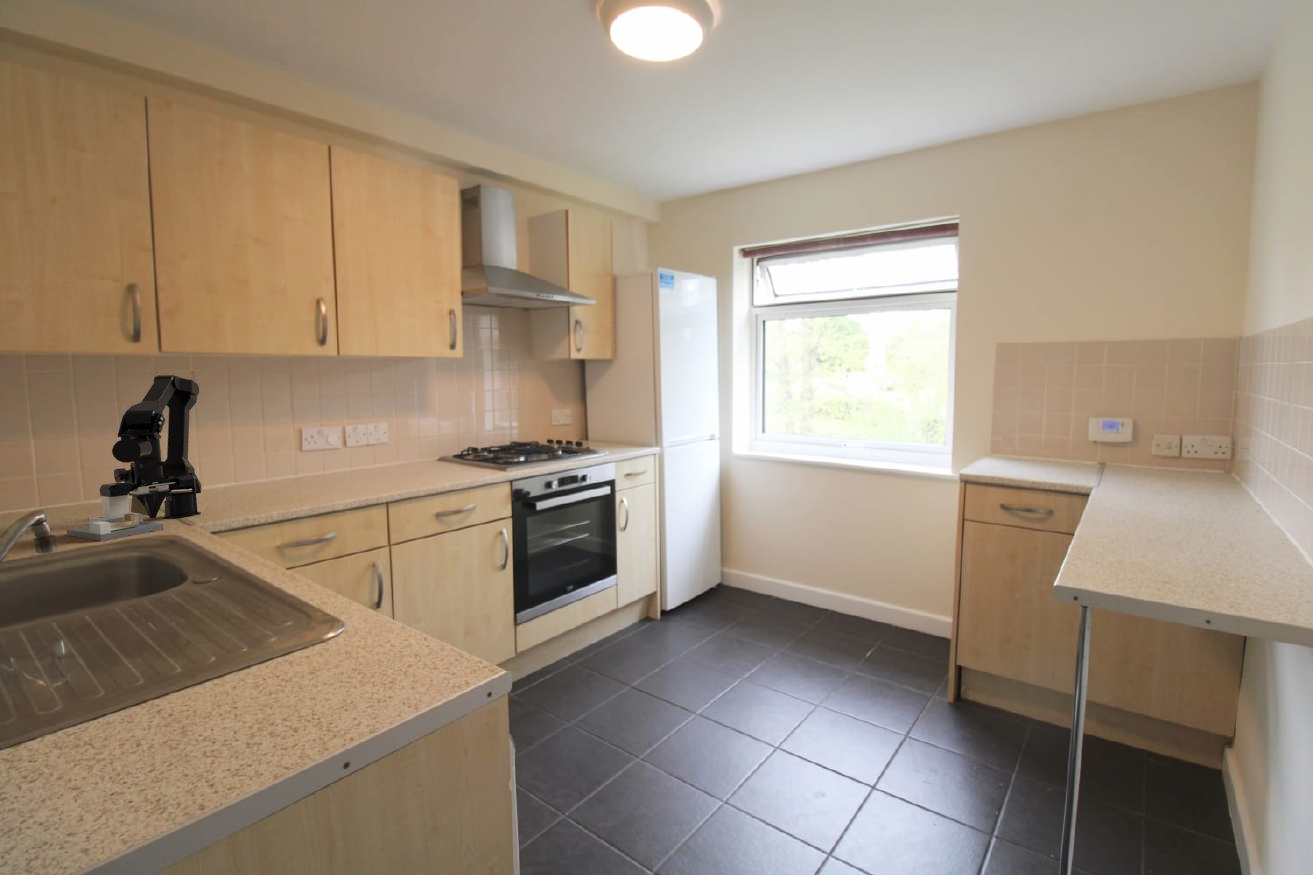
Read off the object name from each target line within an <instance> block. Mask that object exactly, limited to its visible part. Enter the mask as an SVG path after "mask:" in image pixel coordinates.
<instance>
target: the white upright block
mask: <svg viewBox="0 0 1313 875" xmlns="http://www.w3.org/2000/svg"><path fill="white" fill-rule="evenodd" d="M100 500H101V501H100V502H101V512H102V516H103V518H104V519H111V518H118V517H124V514H129V512H130V505H129V494H128V495H124V496H117V497H106V496H100Z"/></svg>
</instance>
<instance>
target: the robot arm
mask: <svg viewBox="0 0 1313 875" xmlns="http://www.w3.org/2000/svg"><path fill="white" fill-rule="evenodd" d="M199 393H200V386H199V384H198V383H197V382H196V381H194V380H193V379H188V378H183V377H180V376H178V375H175V374H173V375H171V374H170V375H167V374H166V375H162V374H161V375H155V376H154V378H153V383H152V384H151V387H150V388H149V390H148V391H147V393H146V394H145V395H144V397H143V399H142V400H141V401H140V402H138V403H136V404H133V405H131V406H130V407H129V408H128V409H127V410H126V411H125V412H124V414H123V415H122V417H121V421H120V425H119V428H118V433H117V438H120V440H117V441H116V442H115V443H114V444H113V446H112V449H111V454H112V456H113V458H115V460H116V461H119V462H121V463H126V464H127V463H130V465H129V467H130V469H126V468H125V467H122V468H121V467H120V468H115V469H113V478H114V481H115V482H113V483H112V482H111V483H104V484H102V485H101V486H100V487H99V496H100V497H101V496H106V497H117V496H124V495H128V496H129V497H130V496H131V497H132V496H135V497H136V498H137V499H138V500H139V501H140V502H141V504H142V505H143V507H144V509H145V510H146V512H147V514H148V515H147V516H148V518H149V519H152V520H154V519H156V518H157V515H158V513H159V510H160V509H161V507H162V505H163V502H164V505H163V506H164V514H163V516H164V517H167V518H174V519H177V518H183V517H190V516H191V517H192V516H196V515H201V514H202V512H201V511H198V502H197V500H198V499H197V494H201V493H202V482H201V481H200V480H199V478H198V476H197V474H196V473H195V467H194V466H193V464H192V463H191V461H190V460H189V433H190V432H189V431H190V411H191V410H192V409H193V408H194V406H195V404H196V403H197V401H198V395H199ZM166 407H167V408H168V421H167V422H168V426H167V449H166V450H167V452H166V459H165V460H164V461H163V459H162V449H161V441H160V440H161V439H162V435H161V434H160V433H161V432H162V430H163V428H164V425H165V423H166V417H165V416H164V413H163V412H164V410H165V408H166ZM149 489H151V490H149Z"/></svg>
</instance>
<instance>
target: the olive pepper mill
mask: <svg viewBox="0 0 1313 875" xmlns="http://www.w3.org/2000/svg"><path fill="white" fill-rule="evenodd" d="M149 490H151V489H149ZM130 513H138V514H142V515H146V516H148V514H147V512H146V510H145V509H144V507H143V505H142V504H141V502H140V501H139V500H138V499H137V498H136V497H135V496H131V508H130Z"/></svg>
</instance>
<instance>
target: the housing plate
mask: <svg viewBox="0 0 1313 875" xmlns="http://www.w3.org/2000/svg"><path fill="white" fill-rule="evenodd" d="M130 513H131V511H129V514H130ZM134 514H138V513H134ZM138 519H139V526H135V527H129V528H124V529H118V530H112V531H111V528H110V523H111V522H117V521H123V520H125V518H124V517H118V518H111V519H104V518H103V515H99V516H98V515H97V516H92V517H88V525H82V526H76V527H72V528H66V530H65V531H66V532H65V533H66V536H68V537H69V536H70V537H77V538H81V539H87V540H94V541H99V542H104V541H109V540H115V539H120V538H119V537H121V538H124V537H123V536H126V537H128V536H127V535H131V536H133V535H132V534H137V535H140V534H141V533H142V534H147V533H151V532H150V531H153V532H156V531H155V530H158V531H161V530H160V529H165V528H164V523H161V522H154V521H147V520H144V516H143V515H142V514H138ZM146 532H147V533H146ZM142 534H141V535H142Z"/></svg>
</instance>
